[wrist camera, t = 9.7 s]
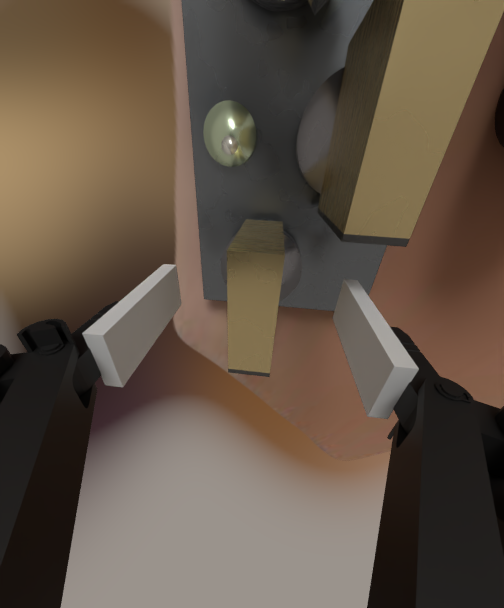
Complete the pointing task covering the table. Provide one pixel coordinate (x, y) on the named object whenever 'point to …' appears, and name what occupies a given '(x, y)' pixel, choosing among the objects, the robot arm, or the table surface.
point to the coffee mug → (500, 119)
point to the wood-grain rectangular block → (392, 114)
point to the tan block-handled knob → (290, 4)
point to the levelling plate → (266, 134)
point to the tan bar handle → (257, 291)
